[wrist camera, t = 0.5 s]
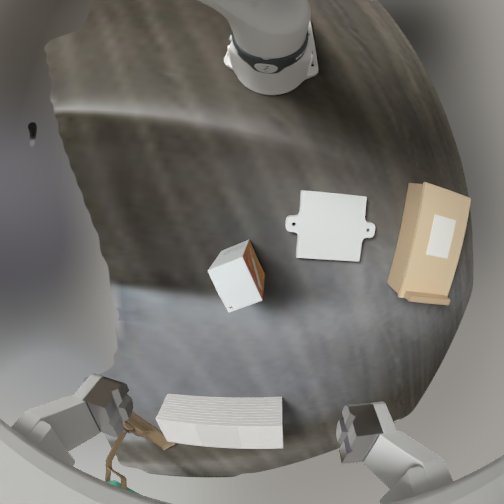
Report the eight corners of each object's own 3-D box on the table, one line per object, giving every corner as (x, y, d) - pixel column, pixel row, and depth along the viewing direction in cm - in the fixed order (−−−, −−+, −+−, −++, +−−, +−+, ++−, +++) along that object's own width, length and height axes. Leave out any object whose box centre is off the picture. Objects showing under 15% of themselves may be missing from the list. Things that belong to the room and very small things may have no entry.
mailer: (408, 182, 48) (422, 183, 43) (452, 197, 48) (467, 199, 42) (387, 282, 54) (397, 293, 48) (431, 288, 54) (443, 298, 48)
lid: (423, 182, 42) (432, 182, 39) (469, 198, 42) (478, 199, 38) (397, 296, 48) (404, 303, 45) (443, 300, 48) (451, 307, 44)
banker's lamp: (133, 405, 70) (89, 486, 37) (185, 439, 73) (158, 522, 39) (117, 420, 74) (77, 489, 40) (163, 450, 77) (136, 522, 43)
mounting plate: (283, 254, 55) (283, 256, 53) (287, 189, 51) (288, 189, 50) (367, 259, 54) (370, 262, 52) (374, 197, 50) (378, 198, 48)
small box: (265, 274, 56) (263, 301, 43) (237, 285, 57) (227, 314, 44) (249, 238, 54) (242, 256, 41) (220, 250, 55) (205, 271, 42)
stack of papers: (281, 396, 64) (282, 425, 54) (282, 420, 67) (283, 448, 57) (167, 393, 67) (155, 418, 57) (176, 416, 70) (167, 441, 60)
